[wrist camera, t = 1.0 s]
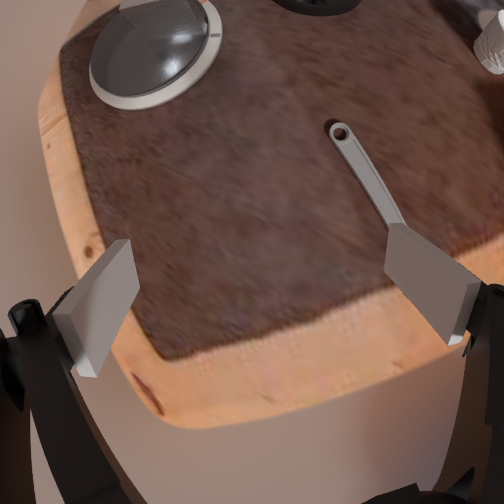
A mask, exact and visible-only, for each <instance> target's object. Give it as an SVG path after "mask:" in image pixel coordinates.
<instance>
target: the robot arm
mask: <svg viewBox="0 0 504 504" xmlns="http://www.w3.org/2000/svg"><path fill="white" fill-rule="evenodd" d="M274 1H275V2H276V3H278V4H279V5H281V6H282V7H284V8H286V9H289V10H291V11H294V12H297V13H301V14H305V15H312V16H333V15H339V14H343V13H346V12H348V11H350V10H352V9H354V8H355V7H356V6H357V5H358V4H359V3H360V2H361V0H274ZM384 272H385V273H386V274H387V275H388V276H389V277H390V278H391V280H392V281H393V282H394V283H395V284H396V285H397V286H398V287H399V289H400V290H401V291H402V292H403V293H404V294H405V295H406V296H407V298H408V299H409V300H410V301H411V302H412V303H413V305H414V306H415V307H416V308H417V309H418V310H419V312H420V313H421V314H422V315H423V316H424V317H425V319H426V320H427V321H428V322H429V323H430V325H431V326H432V327H433V328H434V329H435V331H436V332H437V333H438V334H439V336H440V337H441V338H442V339H443V341H444V342H445V343H446V344H447V346H449V345H452V344H456V343H459V342H461V341H462V339H463V336H464V333H465V331H466V329H467V330H468V331H469V333H470V334H471V336H470V338H469V341H468V343H467V346H466V348H465V350H464V353H463V355H462V357H464V356H465V354H467V355H466V364H465V371H464V378H463V385H462V390H461V396H460V401H459V406H458V411H457V416H456V420H455V425H454V429H453V433H452V437H451V441H450V445H449V448H448V452H447V455H446V458H445V462H444V465H443V468H442V471H441V474H440V476H439V479H438V481H437V483H436V484H435V486H434V487H433V489H432V490H431V491H419V489H418V486H417V484H416V483H414V484H411V485H408V486H406V487H403V488H400V489H397V490H394V491H391V492H388V493H385V494H382V495H378V496H375V497H373V498H372V499H370V500H368V501H366V502H364V503H362V504H504V286H503V285H500V284H490V285H486V284H485V283H484V282H483V281H481V280H480V279H479V278H478V277H476V276H475V275H474V274H472V273H471V272H470V271H469V270H467V269H466V268H465V267H464V266H462V265H461V264H460V263H458V262H456V261H455V260H454V259H452V258H451V257H450V256H448V255H447V254H446V253H444V252H443V251H442V250H440V249H439V248H438V247H436V246H435V245H433V244H432V243H431V242H429V241H428V240H426V239H425V238H424V237H422V236H421V235H419V234H418V233H416V232H415V231H413V230H412V229H411V228H409V227H408V226H406V225H405V224H403V223H390V224H389V234H388V243H387V251H386V258H385V266H384ZM139 289H140V286H139V282H138V277H137V273H136V268H135V264H134V259H133V254H132V249H131V244H130V239H122V240H115V241H114V242H113V244H112V245H111V246H110V247H109V248H108V249H107V250H106V251H105V252H104V253H103V254H102V256H101V257H100V258H99V259H98V260H97V261H96V262H95V263H94V264H93V266H92V267H91V268H90V269H89V270H88V271H87V272H86V274H85V275H84V276H83V277H82V278H81V279H80V280H79V282H78V283H77V284H76V285H75V286H73V287H71V288H70V289H69V290H67V291H66V292H64V294H63V295H62V296H61V297H60V298H59V300H58V301H57V302H56V303H55V306H53V307H52V308H51V309H50V310H49V312H48V313H47V314H46V315H45V316H44V314H43V311H42V308H41V306H40V303H39V302H38V300H36V299H27V300H24V301H22V302H20V303H17V304H16V305H14V306H13V307H12V308H11V309H10V310H9V312H8V317H9V320H10V322H11V324H12V326H13V328H14V331H15V333H16V335H17V336H16V337H10V338H5V336H4V334H3V332H2V330H1V329H0V504H36V499H35V492H34V483H33V474H32V462H31V444H30V408H31V412H32V415H33V419H34V422H35V426H36V429H37V433H38V436H39V439H40V442H41V445H42V448H43V451H44V454H45V456H46V459H47V462H48V464H49V467H50V470H51V472H52V475H53V477H54V479H55V482H56V484H57V486H58V488H59V491H60V493H61V495H62V498H63V500H64V502H65V504H147V502H146V501H145V500H144V498H143V497H142V496H141V494H140V493H139V492H138V490H137V489H136V487H135V486H134V485H133V483H132V482H131V480H130V479H129V477H128V476H127V474H126V473H125V471H124V470H123V468H122V467H121V465H120V464H119V462H118V461H117V459H116V457H115V456H114V454H113V452H112V451H111V449H110V448H109V446H108V444H107V442H106V441H105V439H104V437H103V436H102V434H101V432H100V430H99V428H98V427H97V425H96V423H95V421H94V419H93V417H92V415H91V414H90V411H89V409H88V408H87V405H86V404H85V401H84V400H83V397H82V395H81V393H80V391H79V389H78V387H77V384H76V382H75V380H74V378H73V376H72V374H71V372H70V370H71V369H72V367H73V365H75V367H76V369H77V371H78V373H79V375H80V376H87V377H98V374H99V372H100V370H101V367H102V365H103V363H104V361H105V359H106V356H107V354H108V352H109V350H110V348H111V346H112V343H113V341H114V339H115V337H116V335H117V333H118V331H119V329H120V327H121V325H122V323H123V321H124V318H125V316H126V314H127V312H128V310H129V308H130V306H131V304H132V303H133V301H134V299H135V297H136V295H137V293H138V291H139Z"/></svg>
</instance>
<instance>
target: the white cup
mask: <svg viewBox="0 0 504 504" xmlns="http://www.w3.org/2000/svg"><path fill="white" fill-rule="evenodd" d="M473 49H474V52H475V55H476V57H477V58H478V60H479V62H480V63H481V64H482V65H483V66H484V67H485V68H486V69H487V70H488V71H490V72H492V73H494V74H502V73H504V10H500V11H499V12H498V13H497V14H496V16H495V17H494V18H493V19H492V20H491V21H490V23H489V24H488V25H487V26H486V27H485V29H484V30H483V31H482V33H481V34H480V36H479V37H478V38H477V39H476V40H475V41H474V45H473Z"/></svg>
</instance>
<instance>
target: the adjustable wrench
mask: <svg viewBox="0 0 504 504" xmlns="http://www.w3.org/2000/svg"><path fill="white" fill-rule="evenodd" d="M336 128H342V129H344V130H345V132H346V138H345V139H344V140H337V139H336V138H335V137H334V136H333V131H334V130H335V129H336ZM329 137H330V139H331V140H332V142H333V143H334V145H335V146H336V148H337V149H338V150H339V152H340V153H341V155H342V156H343V158H344V159H345V161H346V162H347V164H348V165H349V167H350V168H351V170H352V171H353V173H354V174H355V176H356V177H357V179H358V181H359V182H360V184H361V185H362V187H363V188H364V190H365V192H366V193H367V195H368V196H369V198H370V200H371V201H372V203H373V205H374V206H375V208H376V210H377V211H378V213H379V215H380V216H381V218H382V220H383V222H384V223H385V225H386V227H387V229H388V230H389V224H390V223H403V224H405V225H406V223H405V221H404V219H403V217H402V215H401V213H400V211H399V209H398V207H397V206H396V204H395V202H394V200H393V198H392V196H391V195H390V193H389V191H388V189H387V188H386V186H385V184H384V182H383V181H382V179H381V177H380V175H379V174H378V172H377V170H376V169H375V167H374V165H373V164H372V162H371V161H370V159H369V157H368V156H367V154H366V153H365V151H364V149H363V148H362V146H361V145H360V143H359V142H358V140H357V139H356V137H355V136H354V134H353V133H352V131H351V130H350V128H349V127H348V126H347V125H346V124H344V123H335V124H334V125H332V127H331V128H330V131H329ZM406 226H407V225H406ZM403 294H404V293H403ZM404 295H405V294H404ZM405 296H406V295H405ZM406 297H407V296H406Z"/></svg>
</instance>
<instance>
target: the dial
mask: <svg viewBox="0 0 504 504" xmlns="http://www.w3.org/2000/svg"><path fill="white" fill-rule="evenodd" d="M119 11H120V12H119V13H117V14H116V15H115V16H114V17H113V18H112V19H111V20H110V21H109V22H108V24H107V25H106V26H105V27H104V29H103V30H102V31H101V33H100V35H99V36H98V38H97V40H96V42H95V45H94V47H93V50H92V54H91V61H90V66H91V73H92V76H93V79H94V80H95V82H96V83H97V84H98V85H99V87H101V88H102V89H103V90H105V91H107V92H108V93H110V94H112V95H114V96H118V97H123V98H136V97H142V96H146V95H149V94H152V93H155V92H157V91H160V90H161V89H163V88H165V87H167V86H169V85H170V84H172V83H174V82H175V81H176V80H178V79H179V78H180V77H182V76H183V75H184V74H185V73H186V72H187V71H188V70H189V69H190V68H191V67H192V66H193V65H194V64H195V63H196V61H197V60H198V59H199V57H200V56H201V54H202V52H203V51H204V49H205V47H206V44H207V42H208V39H209V35H210V21H209V17H208V15H207V13H206V11H205V9H204V7H203V6H202V4H201V3H200V2H199V1H198V0H123V1H122V2H121V5H120V7H119Z"/></svg>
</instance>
